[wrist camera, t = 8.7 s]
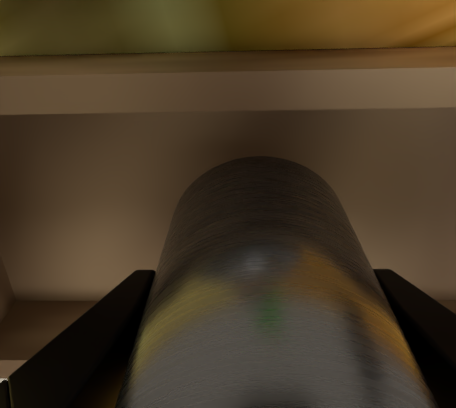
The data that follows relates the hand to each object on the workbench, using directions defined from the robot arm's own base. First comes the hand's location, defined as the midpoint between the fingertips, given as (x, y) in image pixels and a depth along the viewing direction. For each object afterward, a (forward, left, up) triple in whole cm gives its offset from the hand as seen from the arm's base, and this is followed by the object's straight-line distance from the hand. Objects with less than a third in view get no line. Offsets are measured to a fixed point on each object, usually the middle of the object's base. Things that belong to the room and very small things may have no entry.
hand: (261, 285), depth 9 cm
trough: (0, 0, -4) cm, 4 cm away
